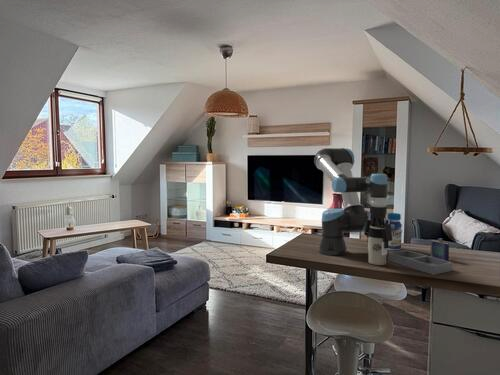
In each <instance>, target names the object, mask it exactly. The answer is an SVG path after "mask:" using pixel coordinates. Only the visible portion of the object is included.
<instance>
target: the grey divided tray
mask: <svg viewBox="0 0 500 375" xmlns="http://www.w3.org/2000/svg"><path fill="white" fill-rule="evenodd" d="M387 256H388V257H387V258H388V259H387V260H388V261H389V262H392V263H395V264H399V265H401V266H405V267H408V268H411V269H414V270H417V271H419V272H423V273H426V274H429V275H433V276H434V275H440V274H444V273H449V272H453V262H452V261H445V260H442V259H438V258H434V257H431V255H430V256H429V255H426V254H423V253H419V252H415V251H411V250H408V249H403V250H402V249H401V250H395V251H391V252H387Z"/></svg>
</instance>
